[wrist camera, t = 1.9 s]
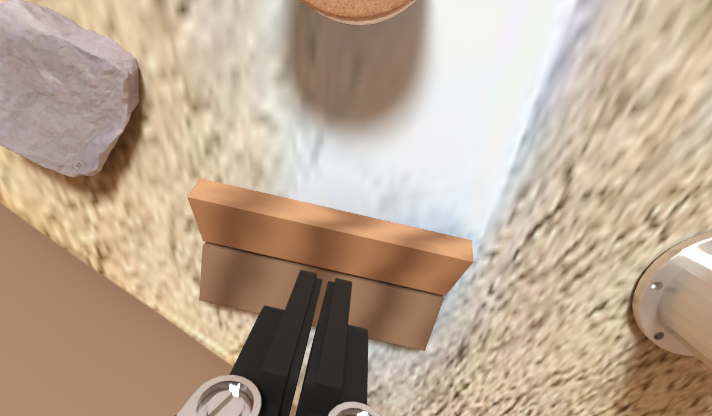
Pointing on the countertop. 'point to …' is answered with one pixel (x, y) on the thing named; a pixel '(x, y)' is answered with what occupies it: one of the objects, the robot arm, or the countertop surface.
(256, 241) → the chestnut plank
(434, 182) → the countertop surface
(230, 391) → the robot arm
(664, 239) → the countertop surface
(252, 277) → the walnut board
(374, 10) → the lidded jar
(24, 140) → the stone block
